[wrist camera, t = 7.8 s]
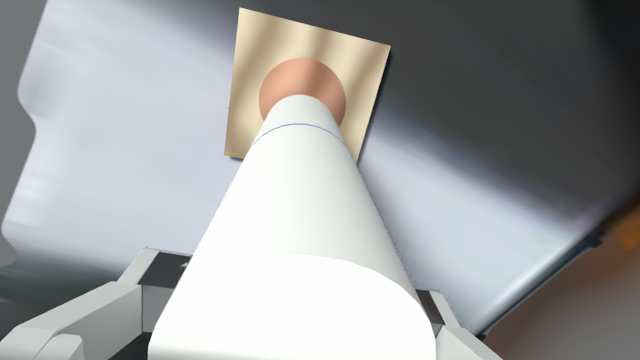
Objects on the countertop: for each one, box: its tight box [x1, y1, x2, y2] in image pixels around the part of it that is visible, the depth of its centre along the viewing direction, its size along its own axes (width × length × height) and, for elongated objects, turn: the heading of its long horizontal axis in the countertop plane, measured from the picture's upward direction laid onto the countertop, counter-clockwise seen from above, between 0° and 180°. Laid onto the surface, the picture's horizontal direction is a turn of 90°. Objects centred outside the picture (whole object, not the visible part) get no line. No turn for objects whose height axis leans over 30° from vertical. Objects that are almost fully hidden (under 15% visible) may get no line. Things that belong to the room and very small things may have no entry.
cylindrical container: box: [148, 95, 436, 360], centre depth 19 cm, size 7×7×25 cm
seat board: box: [224, 8, 391, 164], centre depth 40 cm, size 18×18×2 cm
